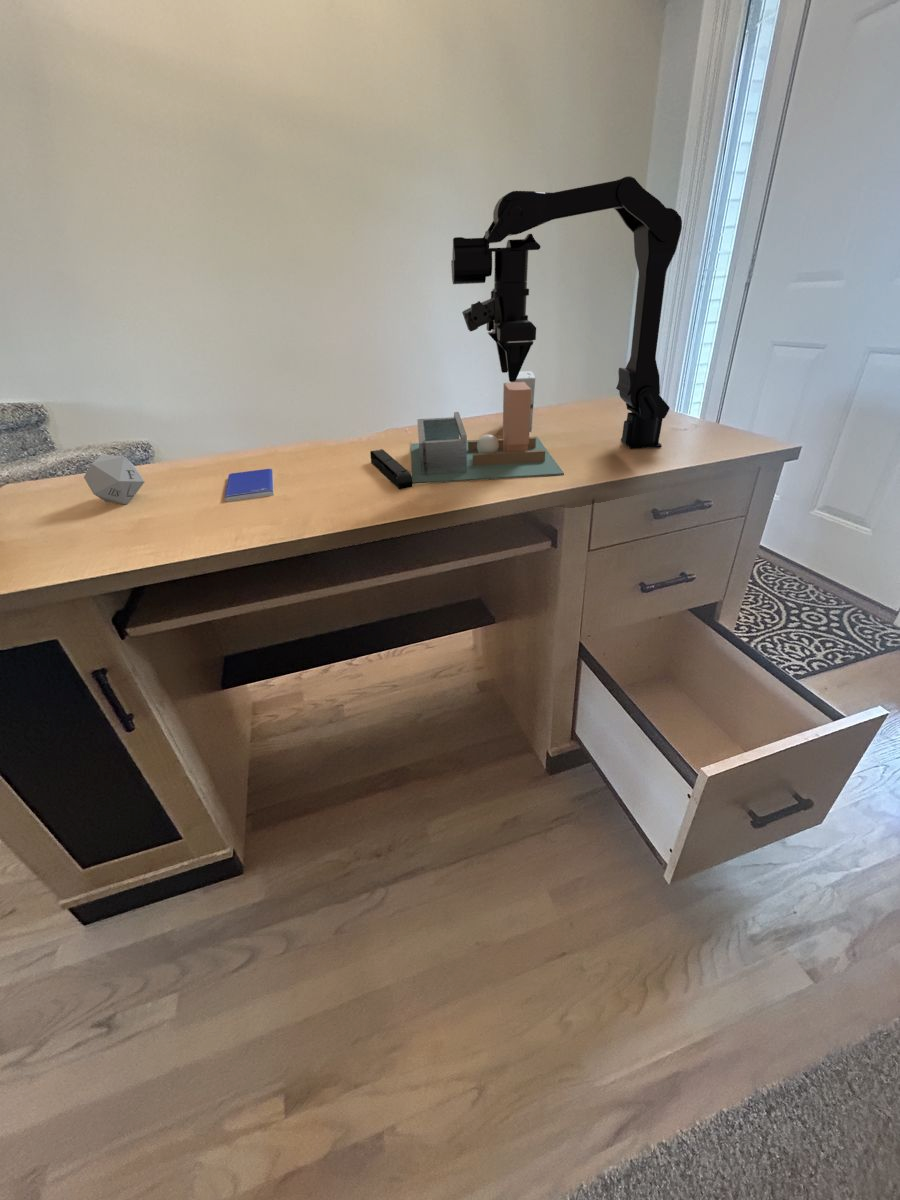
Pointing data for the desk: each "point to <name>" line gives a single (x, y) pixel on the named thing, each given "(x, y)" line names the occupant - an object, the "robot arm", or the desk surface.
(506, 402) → the salmon orange block
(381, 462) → the portable electronic device stand
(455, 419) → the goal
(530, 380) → the ink box
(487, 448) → the ball
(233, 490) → the hard drive
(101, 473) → the die
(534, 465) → the plate
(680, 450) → the desk surface
